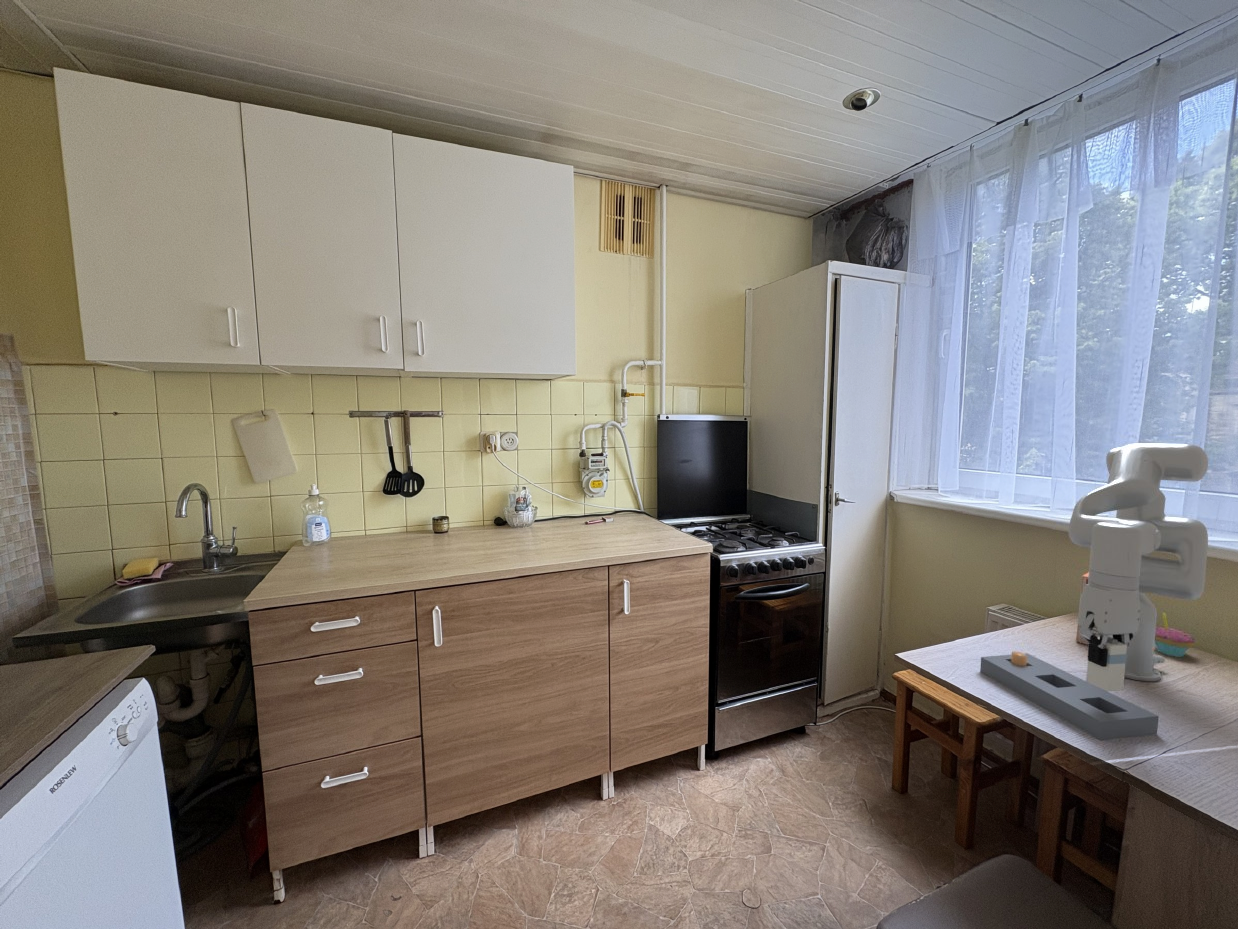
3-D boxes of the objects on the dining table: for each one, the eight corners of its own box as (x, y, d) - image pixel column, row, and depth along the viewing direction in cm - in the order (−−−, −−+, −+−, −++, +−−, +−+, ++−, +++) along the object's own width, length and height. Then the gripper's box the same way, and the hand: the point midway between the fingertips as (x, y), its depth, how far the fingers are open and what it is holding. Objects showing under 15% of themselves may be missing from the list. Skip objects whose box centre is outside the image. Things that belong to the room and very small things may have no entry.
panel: (1026, 669, 128) (1027, 653, 127) (1156, 736, 100) (1158, 716, 100) (980, 673, 126) (981, 657, 125) (1100, 742, 98) (1102, 722, 98)
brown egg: (1017, 673, 124) (1018, 651, 124) (1028, 679, 121) (1030, 656, 121) (1007, 674, 124) (1008, 651, 124) (1018, 680, 121) (1019, 657, 121)
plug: (1101, 680, 105) (1105, 633, 105) (1123, 690, 101) (1127, 641, 101) (1085, 681, 105) (1089, 634, 104) (1107, 691, 101) (1111, 642, 100)
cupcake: (1148, 652, 137) (1151, 612, 136) (1147, 643, 142) (1151, 604, 142) (1194, 663, 130) (1198, 621, 129) (1192, 653, 136) (1196, 613, 135)
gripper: (1125, 573, 106) (1118, 652, 108) (1060, 576, 104) (1054, 657, 105) (1168, 584, 99) (1160, 669, 100) (1099, 587, 97) (1092, 674, 98)
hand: (1106, 662), depth 103 cm, fingers closed on plug, 4 cm apart
